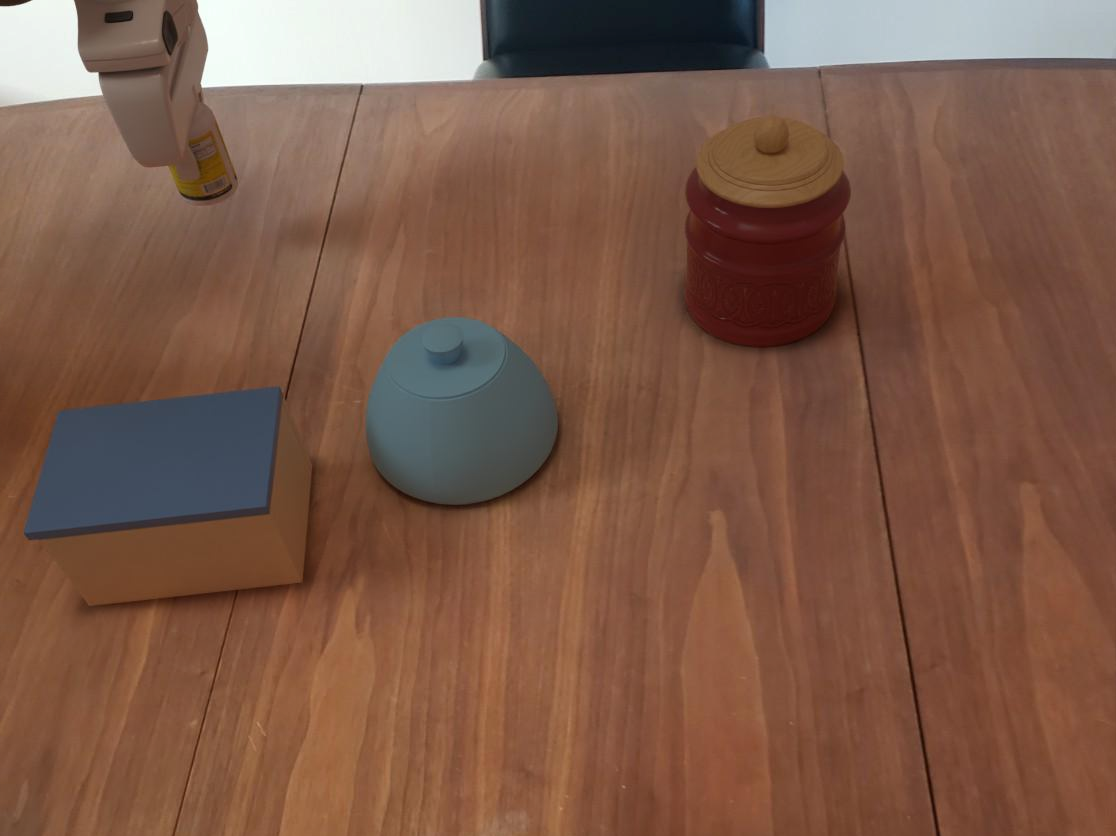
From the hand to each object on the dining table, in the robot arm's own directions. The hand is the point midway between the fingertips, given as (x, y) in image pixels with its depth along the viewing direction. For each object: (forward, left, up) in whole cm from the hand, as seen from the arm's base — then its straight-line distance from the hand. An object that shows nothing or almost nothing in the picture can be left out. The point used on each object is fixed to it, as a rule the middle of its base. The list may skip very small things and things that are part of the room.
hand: (196, 154), depth 97 cm
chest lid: (+2, -38, 0) cm, 38 cm away
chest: (+3, -38, -9) cm, 39 cm away
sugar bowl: (+23, -31, -10) cm, 40 cm away
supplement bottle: (0, 0, -4) cm, 4 cm away
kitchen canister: (+49, -18, -10) cm, 53 cm away
